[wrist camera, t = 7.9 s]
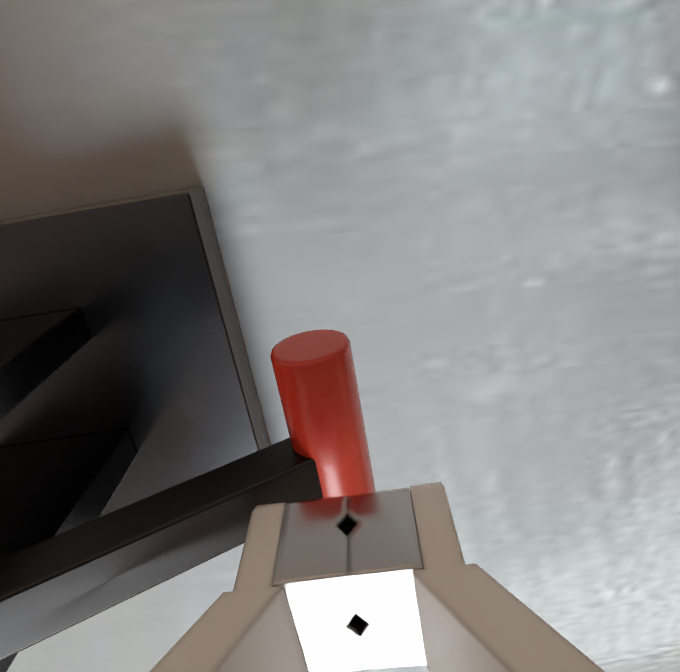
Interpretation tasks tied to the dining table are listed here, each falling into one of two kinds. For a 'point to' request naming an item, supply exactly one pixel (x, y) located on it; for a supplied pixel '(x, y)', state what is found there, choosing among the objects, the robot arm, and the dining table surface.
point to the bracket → (115, 362)
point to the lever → (197, 503)
